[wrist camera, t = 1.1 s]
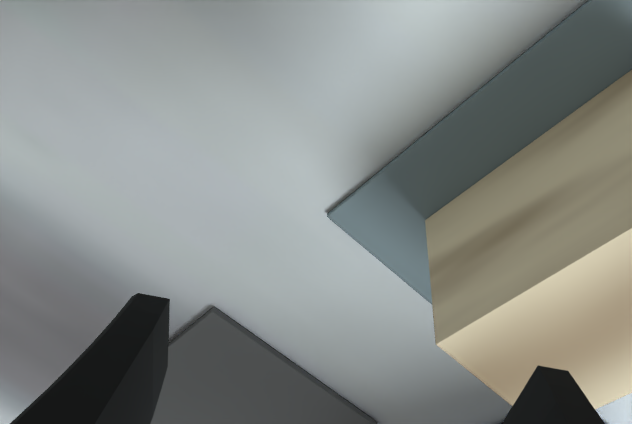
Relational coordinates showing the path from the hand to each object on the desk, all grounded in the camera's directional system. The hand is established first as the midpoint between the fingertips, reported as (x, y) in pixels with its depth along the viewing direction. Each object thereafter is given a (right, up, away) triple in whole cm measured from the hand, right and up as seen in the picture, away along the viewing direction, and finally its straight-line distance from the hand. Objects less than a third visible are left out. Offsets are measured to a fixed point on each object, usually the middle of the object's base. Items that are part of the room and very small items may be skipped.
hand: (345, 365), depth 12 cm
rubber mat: (-5, -7, +18) cm, 20 cm away
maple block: (+8, +4, +8) cm, 12 cm away
